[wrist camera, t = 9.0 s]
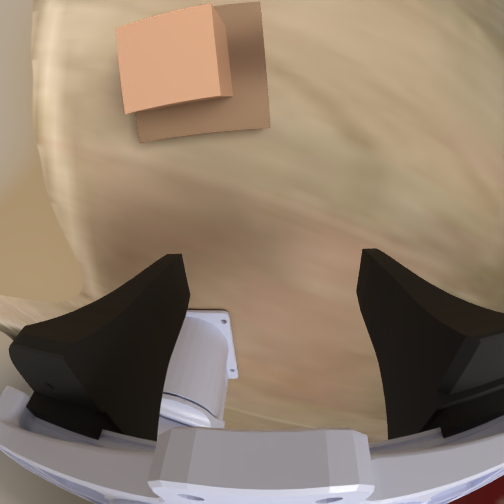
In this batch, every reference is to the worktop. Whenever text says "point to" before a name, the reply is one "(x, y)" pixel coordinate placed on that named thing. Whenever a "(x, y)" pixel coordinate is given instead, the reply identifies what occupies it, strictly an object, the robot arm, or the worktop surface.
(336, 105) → the worktop surface
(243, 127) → the walnut block
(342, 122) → the worktop surface
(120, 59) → the cube
